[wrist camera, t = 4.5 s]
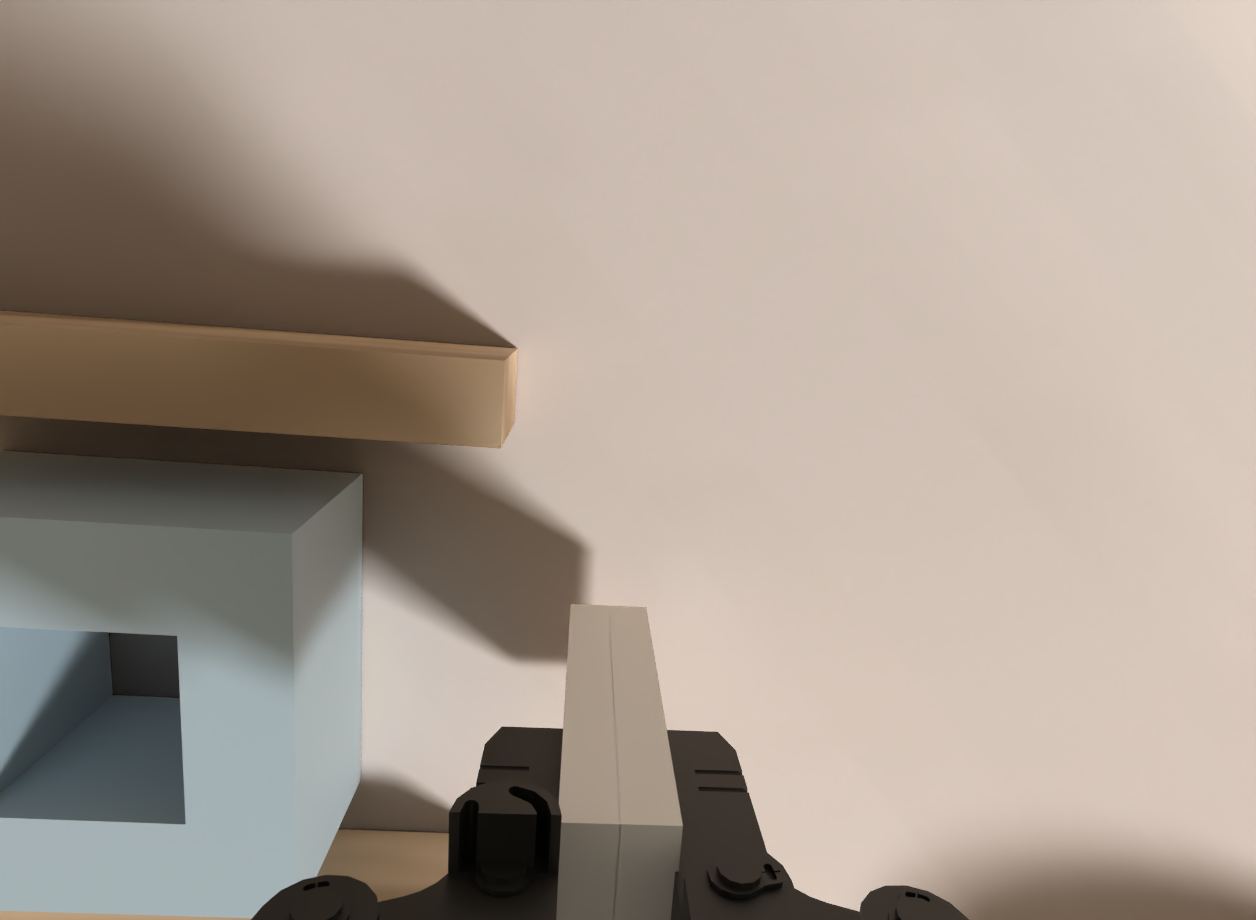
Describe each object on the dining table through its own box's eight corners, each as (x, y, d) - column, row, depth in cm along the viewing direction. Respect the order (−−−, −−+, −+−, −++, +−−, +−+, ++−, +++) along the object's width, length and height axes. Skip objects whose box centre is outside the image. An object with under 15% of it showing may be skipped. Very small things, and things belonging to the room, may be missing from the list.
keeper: (3, 450, 16) (-187, 506, 12) (362, 473, 16) (292, 533, 13) (31, 766, 18) (-129, 906, 14) (360, 780, 18) (296, 920, 14)
